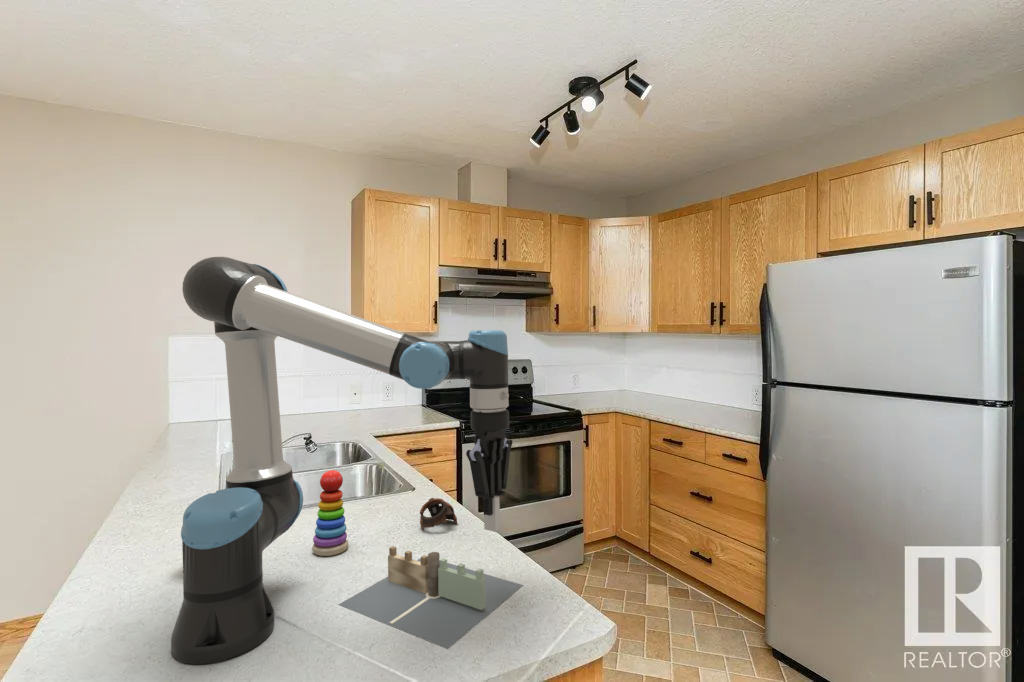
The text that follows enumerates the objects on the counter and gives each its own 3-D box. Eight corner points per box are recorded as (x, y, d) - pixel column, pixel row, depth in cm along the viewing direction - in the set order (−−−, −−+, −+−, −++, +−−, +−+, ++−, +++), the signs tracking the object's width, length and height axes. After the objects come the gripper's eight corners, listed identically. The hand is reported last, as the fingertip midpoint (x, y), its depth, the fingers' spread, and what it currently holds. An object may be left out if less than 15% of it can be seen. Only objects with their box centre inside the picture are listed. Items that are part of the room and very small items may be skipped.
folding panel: (438, 595, 97) (438, 559, 97) (442, 592, 98) (442, 557, 98) (481, 610, 92) (481, 572, 92) (485, 607, 93) (485, 569, 93)
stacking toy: (336, 558, 116) (335, 476, 115) (305, 556, 117) (304, 474, 117) (354, 544, 123) (353, 467, 123) (324, 542, 125) (323, 465, 125)
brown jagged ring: (465, 529, 134) (455, 507, 130) (433, 550, 131) (422, 528, 127) (448, 504, 144) (437, 483, 140) (418, 524, 141) (407, 502, 137)
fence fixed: (442, 593, 99) (441, 553, 99) (434, 598, 97) (434, 557, 97) (394, 577, 105) (393, 539, 105) (386, 581, 104) (386, 543, 103)
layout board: (447, 652, 81) (447, 648, 81) (338, 607, 95) (338, 603, 95) (523, 587, 102) (523, 584, 102) (424, 558, 115) (424, 555, 115)
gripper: (486, 415, 92) (489, 545, 92) (523, 405, 103) (525, 521, 103) (453, 412, 96) (456, 537, 96) (492, 403, 107) (494, 515, 107)
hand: (492, 529), depth 100 cm, fingers closed
